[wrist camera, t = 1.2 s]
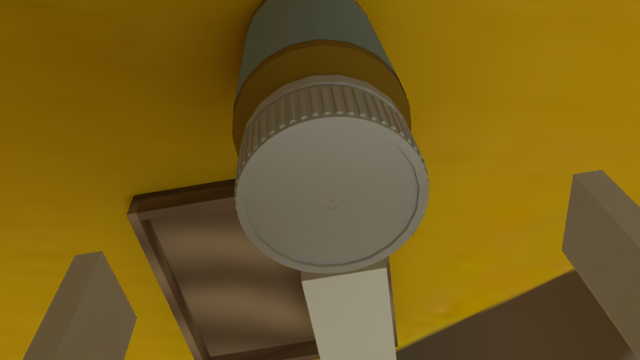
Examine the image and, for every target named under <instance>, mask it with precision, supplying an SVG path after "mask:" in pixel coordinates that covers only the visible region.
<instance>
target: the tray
mask: <svg viewBox="0 0 640 360" xmlns="http://www.w3.org/2000/svg"><path fill="white" fill-rule="evenodd" d="M235 182H236V179H233V180H227V181H221V182H215V183H209V184H203V185H197V186H191V187H185V188H179V189H173V190H167V191H161V192H155V193H149V194H143V195H137V196H134V198H133V200H132V203H131V205H130V207H129V210H128V212H127V217H128V219H129V221H130V223H131V225H132V227H133V229H134V232H135V234H136V236H137V238H138V240H139V242H140V244H141V246H142V248H143V251H144V253H145V255H146V257H147V259H148V261H149V263H150V265H151V268H152V270H153V272H154V274H155V276H156V278H157V280H158V282H159V285H160V287H161V289H162V291H163V293H164V295H165V297H166V299H167V302H168V304H169V306H170V308H171V310H172V312H173V314H174V316H175V319H176V321H177V323H178V325H179V327H180V329H181V331H182V333H183V336H184V338H185V340H186V342H187V344H188V346H189V348H190V350H191V353H192V355H193V357H194V359H195V360H315V359H320V356H319V351H318V347H317V343H316V339H315V335H314V331H313V327H312V323H311V319H310V314H309V310H308V306H307V302H306V298H305V294H304V290H303V286H302V282H301V271H300V270H296V269H293V268H290V267H287V266H285V265H282V264H280V263H278V262H276V261H274V260H273V259H271V258H269V257H268V256H266V255H265V254H264V253H262V252H261V251H260V250H259V249H258V248H257V247H256V246H255V245H254V244H253V243H252V242H251V241H250V239H249V238H248V236H247V235H246V233H245V232H244V230H243V228H242V226H241V223H240V221H239V218H238V215H237V210H236V207H235V205H236V202H235V200H234V196H235ZM384 260H385V264H386V268H387V277H388V286H389V296H390V305H391V315H392V324H393V333H394V343H395V347H398V344H397V334H396V324H395V314H394V305H393V295H392V285H391V275H390V265H389V256H387V257H386V258H384Z"/></svg>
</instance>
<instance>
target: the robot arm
mask: <svg viewBox="0 0 640 360" xmlns="http://www.w3.org/2000/svg"><path fill="white" fill-rule="evenodd" d="M562 251H563V252H564V254H565V255H566V257H567V258H568V260H569V261H570V262H571V264H572V265H573V267H574V268H575V269H576V271H577V272H578V274H579V275H580V277H581V278H582V279H583V281H584V282H585V283H586V285H587V287H588V288H589V289H590V291H591V292H592V294H593V295H594V296H595V298H596V299H597V301H598V302H599V304H600V305H601V306H602V308H603V309H604V310H605V312H606V313H607V315H608V316H609V318H610V319H611V321H612V322H613V323H614V325H615V326H616V328H617V329H618V331H619V332H620V333H621V335H622V336H623V338H624V339H625V341H626V342H627V343H628V345H629V346H630V348H631V349H632V350H633V352H634V353H635V355H636V356H637V358H638V359H639V360H640V207H639V206H638V205H637V204H636V203H635V202H634V201H633V200H632V199H631V198H630V197H629V196H628V195H627V194H626V193H625V192H624V191H623V190H622V189H621V188H620V187H619V186H618V185H617V184H616V183H615V182H614V181H612V180H611V179H610V178H609V177H608V176H607V175H606V174H605V173H604V172H603V171H602V170H598V171H591V172H585V173H579V174H573V181H572V187H571V194H570V200H569V206H568V213H567V219H566V226H565V232H564V239H563V245H562ZM136 319H137V317H136V315H135V313H134V311H133V309H132V307H131V305H130V303H129V302H128V300H127V298H126V296H125V294H124V292H123V290H122V288H121V286H120V284H119V283H118V281H117V279H116V277H115V275H114V273H113V271H112V269H111V267H110V265H109V264H108V262H107V260H106V258H105V256H104V254H103V252H102V251H100V252H94V253H88V254H82V255H75V257H74V259H73V261H72V263H71V265H70V267H69V269H68V271H67V273H66V275H65V277H64V279H63V281H62V283H61V285H60V287H59V289H58V291H57V293H56V295H55V297H54V299H53V301H52V303H51V305H50V307H49V309H48V311H47V313H46V315H45V317H44V319H43V321H42V323H41V325H40V327H39V328H38V330H37V332H36V334H35V336H34V338H33V340H32V342H31V344H30V346H29V348H28V350H27V352H26V354H25V356H24V358H23V360H124V358H125V355H126V351H127V348H128V345H129V341H130V338H131V335H132V332H133V328H134V325H135V322H136Z"/></svg>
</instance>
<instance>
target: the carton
mask: <svg viewBox="0 0 640 360" xmlns="http://www.w3.org/2000/svg"><path fill="white" fill-rule="evenodd" d="M301 282H302V286H303V290H304V294H305V298H306V302H307V306H308V310H309V314H310V319H311V323H312V327H313V331H314V335H315V339H316V343H317V347H318V351H319V356H320V360H396V352H395V343H394V333H393V324H392V315H391V305H390V296H389V286H388V277H387V268H386V264H385V260H384V259H382V260H380V261H378V262H376V263H374V264H372V265H369V266H366V267H364V268H360V269H357V270H353V271H348V272H341V273H311V272H305V271H301Z"/></svg>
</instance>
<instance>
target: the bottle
mask: <svg viewBox="0 0 640 360" xmlns="http://www.w3.org/2000/svg"><path fill="white" fill-rule="evenodd" d="M232 134H233V141H234V144H235V148H236V151H237V154H238V157H239V159H238V167H237V174H236V182H235V196H234V200H235V202H236V205H235V207H236V210H237V215H238V218H239V221H240V223H241V226H242V228H243V230H244V232H245V233H246V235H247V236H248V238H249V239H250V241H251V242H252V243H253V244H254V245H255V246H256V247H257V248H258V249H259V250H260V251H261V252H262V253H264V254H265V255H266V256H268V257H269V258H271V259H273V260H274V261H276V262H278V263H280V264H282V265H285V266H287V267H290V268H293V269H296V270H300V271H305V272H311V273H341V272H348V271H353V270H357V269H360V268H364V267H366V266H369V265H372V264H374V263H376V262H378V261H380V260H382V259H384V258H386V257H387V256H389V255H390V254H392V253H393V252H395V251H396V250H397V249H399V248H400V247H401V246H402V245H403V244H404V243H405V242H406V241H407V240H408V239H409V238H410V237H411V236H412V234H413V233H414V232H415V230H416V229H417V227H418V226H419V224H420V222H421V220H422V218H423V216H424V213H425V210H426V207H427V202H428V194H429V187H428V184H429V180H428V178H427V175H428V172H427V170H426V167H425V166H426V165H425V162H424V160H423V158H422V155H421V153H420V151H419V149H418V147H417V144H416V142H415V140H414V138H413V136H412V133H411V117H410V107H409V103H408V100H407V97H406V94H405V92H404V90H403V87H402V85H401V83H400V81H399V79H398V77H397V75H396V73H395V71H394V69H393V67H392V65H391V63H390V61H389V59H388V57H387V55H386V53H385V51H384V49H383V47H382V45H381V43H380V41H379V39H378V37H377V35H376V33H375V31H374V29H373V27H372V25H371V23H370V21H369V19H368V18H367V16H366V14H365V12H364V11H363V9H362V8H361V7H360V6H359V5H358V4H357V3H356V2H355V1H354V0H265V1H264V3H263V4H262V5H261V6H260V7H259V8H258V9H257V11H256V12H255V14H254V16H253V18H252V21H251V23H250V26H249V28H248V31H247V35H246V40H245V46H244V51H243V57H242V63H241V69H240V75H239V81H238V86H237V92H236V98H235V104H234V114H233V132H232Z"/></svg>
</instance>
